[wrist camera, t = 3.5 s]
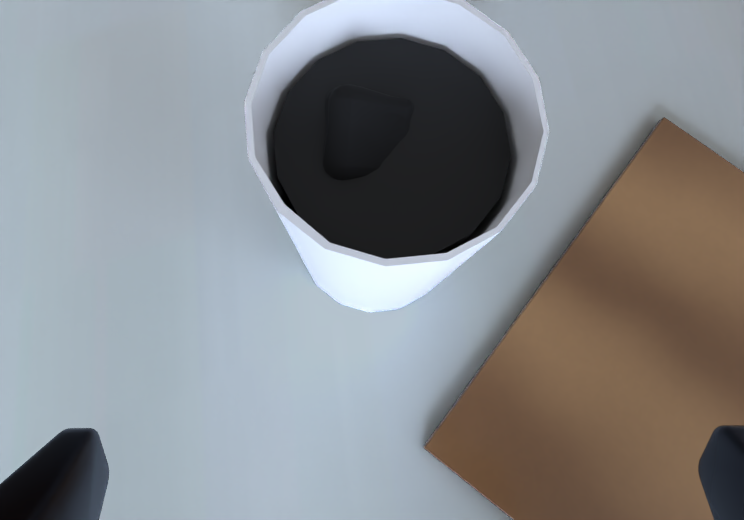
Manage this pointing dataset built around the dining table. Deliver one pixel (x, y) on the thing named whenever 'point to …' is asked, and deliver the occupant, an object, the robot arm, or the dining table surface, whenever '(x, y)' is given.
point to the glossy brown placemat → (618, 354)
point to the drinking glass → (393, 141)
